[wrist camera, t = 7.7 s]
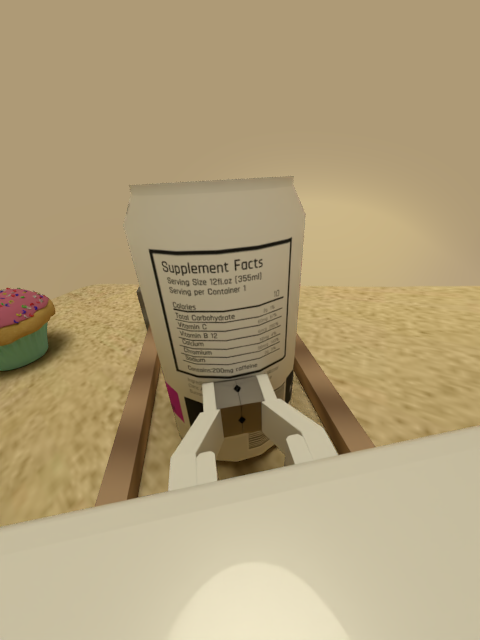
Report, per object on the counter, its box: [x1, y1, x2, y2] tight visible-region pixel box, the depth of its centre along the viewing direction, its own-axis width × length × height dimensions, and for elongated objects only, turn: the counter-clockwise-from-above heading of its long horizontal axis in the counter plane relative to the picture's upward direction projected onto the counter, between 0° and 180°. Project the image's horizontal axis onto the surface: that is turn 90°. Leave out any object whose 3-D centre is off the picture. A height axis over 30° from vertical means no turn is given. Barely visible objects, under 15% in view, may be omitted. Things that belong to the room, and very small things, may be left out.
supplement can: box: [124, 176, 306, 462], centre depth 15 cm, size 8×8×15 cm
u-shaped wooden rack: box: [95, 287, 375, 507], centre depth 21 cm, size 22×16×5 cm
